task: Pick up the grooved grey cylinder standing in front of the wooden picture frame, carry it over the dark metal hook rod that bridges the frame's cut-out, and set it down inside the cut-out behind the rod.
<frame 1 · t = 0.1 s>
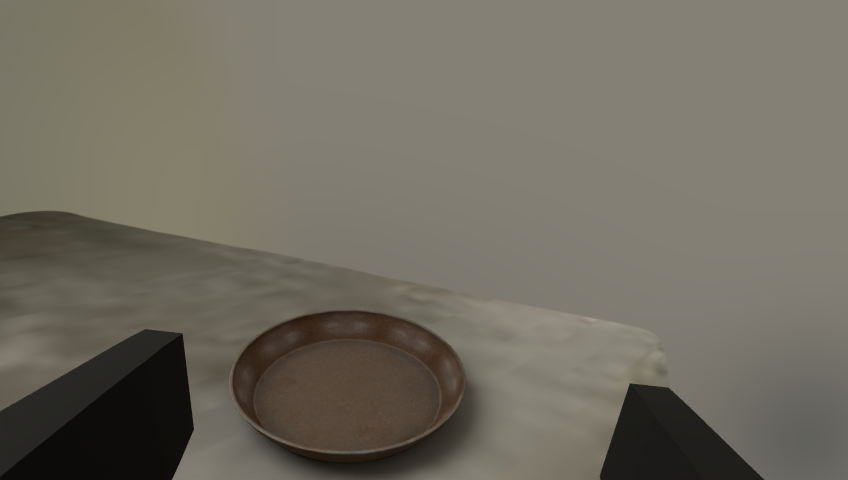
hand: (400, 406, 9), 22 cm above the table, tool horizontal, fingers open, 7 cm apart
plant saucer: (349, 400, 43), on the table
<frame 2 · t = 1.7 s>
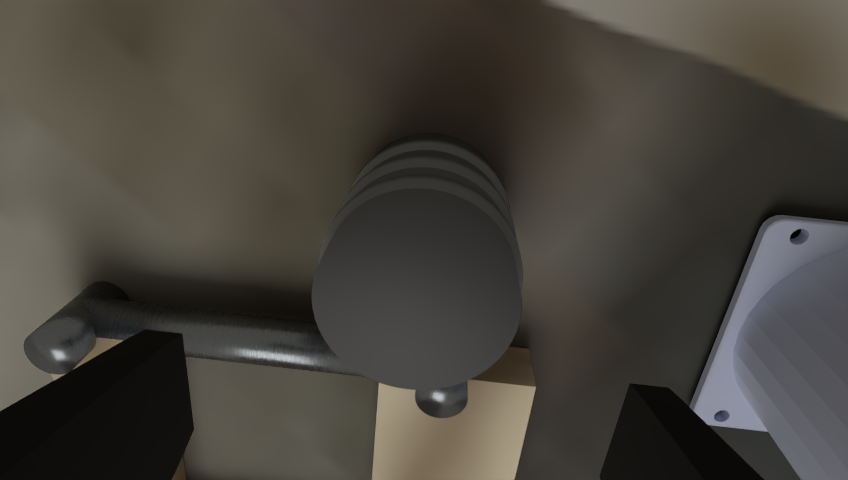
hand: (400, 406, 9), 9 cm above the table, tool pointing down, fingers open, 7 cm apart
hook rod: (275, 320, 19), on the table
wooden picture frame: (303, 466, 22), on the table
grooved grey cylinder: (429, 204, 17), on the table
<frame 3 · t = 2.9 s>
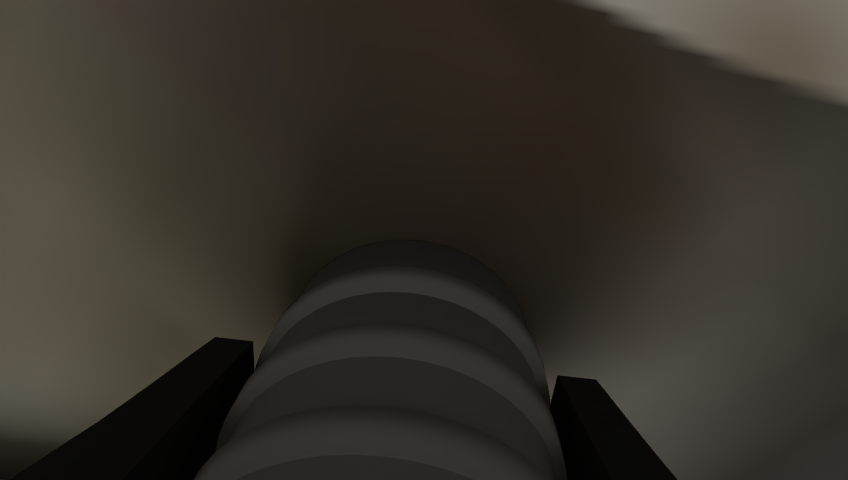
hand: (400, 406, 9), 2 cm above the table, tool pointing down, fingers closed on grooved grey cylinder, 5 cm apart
grooved grey cylinder: (408, 346, 10), on the table, touching gripper
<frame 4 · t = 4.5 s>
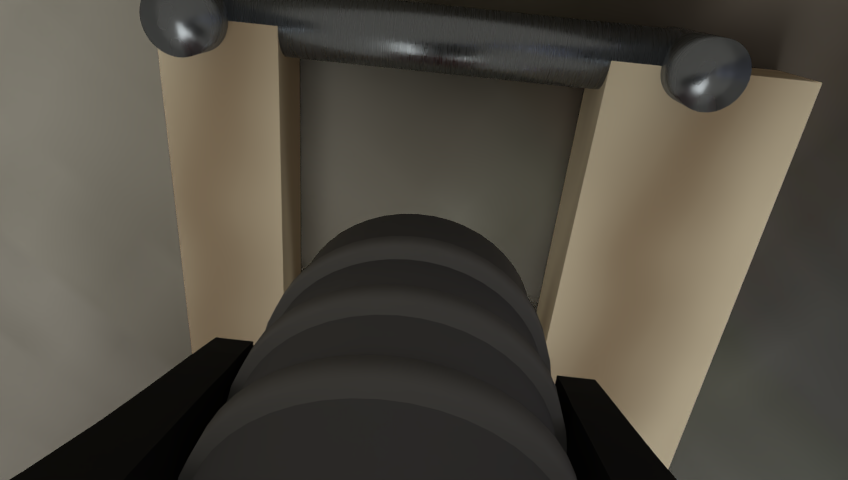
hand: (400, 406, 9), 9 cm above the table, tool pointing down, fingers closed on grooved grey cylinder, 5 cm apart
hook rod: (445, 35, 15), on the table
wooden picture frame: (452, 265, 18), on the table
grooved grey cylinder: (412, 320, 11), point 7 cm above the table, touching gripper
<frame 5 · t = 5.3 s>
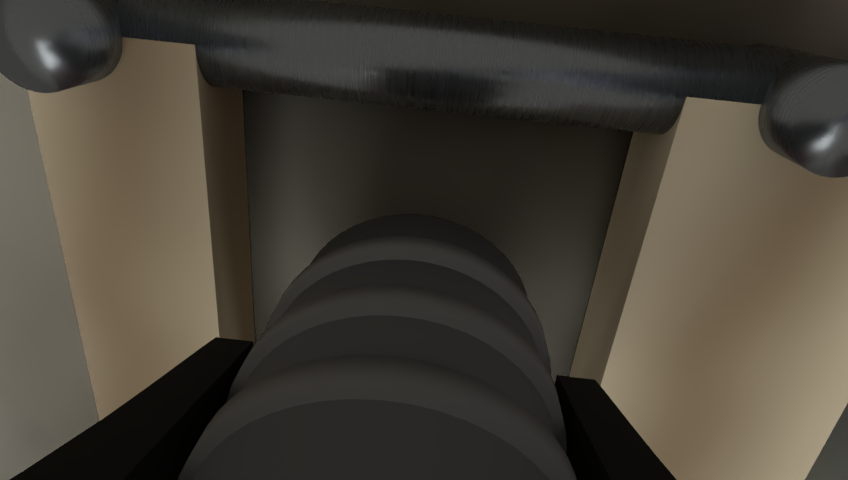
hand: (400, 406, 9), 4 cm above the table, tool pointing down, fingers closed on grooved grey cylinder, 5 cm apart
hook rod: (442, 55, 11), on the table
wooden picture frame: (452, 351, 14), on the table
grooved grey cylinder: (412, 321, 11), point 2 cm above the table, touching gripper
when the fingers open (3 cm above the table, at t = 6.1 s): grooved grey cylinder drops 1 cm, on the table.
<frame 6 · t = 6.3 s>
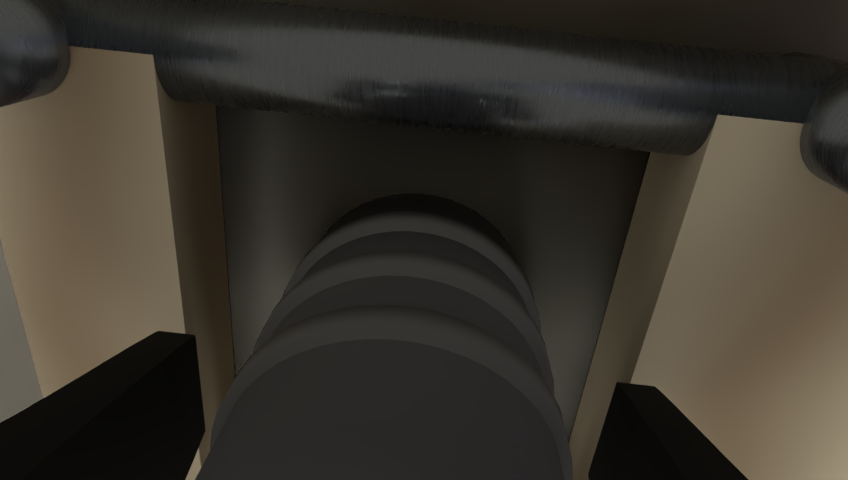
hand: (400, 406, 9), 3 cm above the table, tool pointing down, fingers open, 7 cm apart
hook rod: (438, 64, 9), on the table
wooden picture frame: (449, 386, 12), on the table
grooved grey cylinder: (414, 293, 12), on the table
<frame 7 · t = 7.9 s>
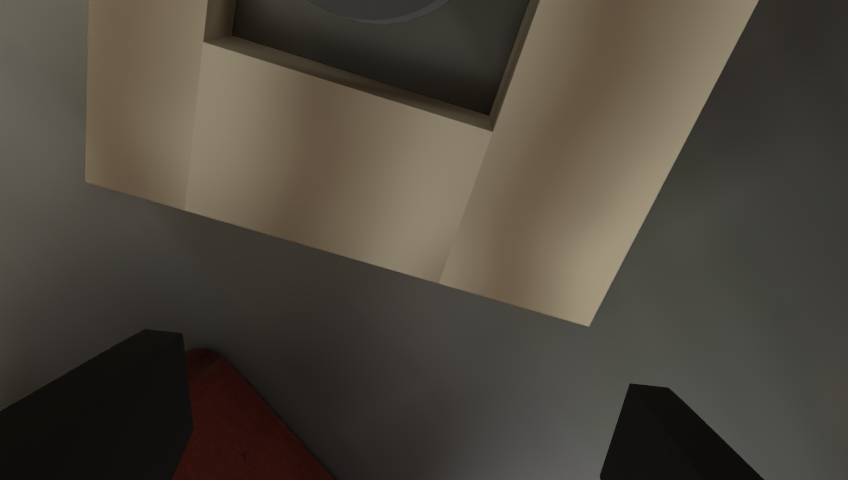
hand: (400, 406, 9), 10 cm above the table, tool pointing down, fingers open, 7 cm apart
wooden picture frame: (413, 17, 16), on the table
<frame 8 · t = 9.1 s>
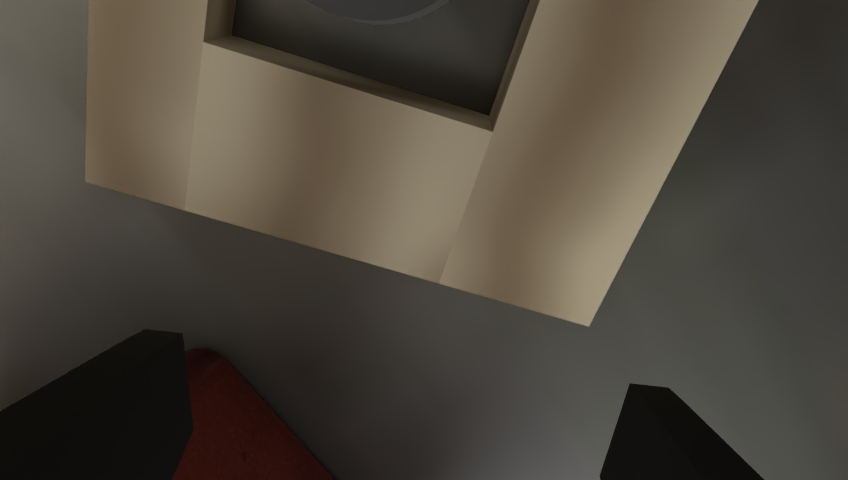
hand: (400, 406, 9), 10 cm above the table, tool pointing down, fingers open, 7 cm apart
wooden picture frame: (413, 17, 16), on the table
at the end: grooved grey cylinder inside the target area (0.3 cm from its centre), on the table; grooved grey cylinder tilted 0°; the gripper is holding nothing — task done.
